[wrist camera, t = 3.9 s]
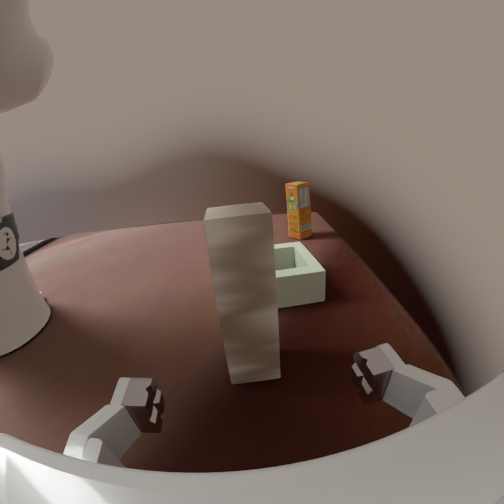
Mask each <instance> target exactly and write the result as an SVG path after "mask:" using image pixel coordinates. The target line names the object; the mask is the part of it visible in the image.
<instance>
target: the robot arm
mask: <svg viewBox="0 0 504 504" xmlns="http://www.w3.org/2000/svg"><path fill="white" fill-rule="evenodd" d="M28 3H29V0H0V113H3V112H7V111H10V110H12V109H15V108H17V107H20V106H22V105H24V104H26V103H29V102H31V101H34V100H36V98H37V97H38V96H39V95H40V94H41V92H42V91H43V90H44V88H45V86H46V84H47V83H48V81H49V78H50V75H51V72H52V67H53V53H52V49H51V47H50V45H49V43H48V41H46V39H45V38H43V37H42V36H41V35H40V34H39V33H38V32H37V30H36V29H35V27H34V26H33V24H32V21H31V18H30V15H29V7H28ZM9 213H10V207H9V201H8V195H7V188H6V180H5V170H4V162H3V159H2V156H1V154H0V356H1V355H4V354H6V353H9V352H11V351H13V350H15V349H17V348H18V347H20V346H22V345H23V344H25V343H26V342H27V341H29V340H30V339H31V338H32V337H34V336H35V335H36V334H37V333H38V332H39V331H40V330H41V329H42V328H43V327H44V325H45V324H46V322H47V321H48V319H49V317H50V312H51V311H50V308H49V306H48V305H47V303H46V302H45V300H44V296H43V294H42V292H41V291H39V290H38V288H37V286H36V283H35V281H34V279H33V277H32V274H31V272H30V270H29V267H28V265H27V262H26V260H25V257H24V255H23V253H22V251H21V250H20V248H19V243H18V239H19V235H18V231H17V224H16V222H15V218H14V214H13V213H10V214H9ZM353 359H354V361H355V363H354V365H353V366H352V369H351V378H352V381H353V383H354V385H355V387H357V388H359V389H360V392H359V395H360V397H361V398H362V400H363V402H364V404H369V403H372V402H375V401H378V400H382V399H383V401H385V402H386V403H388V404H389V405H391V406H393V407H394V408H396V409H398V410H399V411H401V412H402V413H404V414H406V415H407V416H409V417H411V418H412V419H413V420H412V422H411V423H410V425H409V427H408V428H406V429H404V430H402V431H399V432H397V433H395V434H392V435H390V436H387V437H384V438H382V439H379V440H377V441H374V442H371V443H368V444H365V445H362V446H359V447H356V448H353V449H350V450H347V451H343V452H340V453H336V454H333V455H329V456H325V457H321V458H317V459H312V460H308V461H303V462H298V463H293V464H288V465H282V466H276V467H269V468H262V469H254V470H244V471H232V472H213V473H179V472H160V471H148V470H138V469H130V468H126V467H125V466H124V465H123V464H122V463H121V462H120V461H119V459H120V458H121V457H122V456H123V455H124V453H125V452H126V451H127V450H128V449H129V448H130V447H131V445H132V444H133V443H134V442H135V441H136V440H137V438H138V437H139V436H140V435H141V434H142V433H141V432H148V433H161V427H162V419H161V417H160V415H161V414H162V413H164V398H163V395H162V392H161V391H160V390H158V389H157V387H158V383H157V381H156V379H154V378H127V377H121V378H120V379H119V380H118V383H117V386H116V388H115V391H114V394H113V397H112V400H111V402H110V405H106V406H104V407H103V408H102V409H100V410H99V411H98V412H97V413H95V414H94V415H93V416H92V417H90V418H89V419H88V420H86V421H85V422H84V423H83V424H81V425H80V426H79V427H77V428H76V429H75V430H74V431H72V432H71V433H70V436H69V439H68V441H67V444H66V447H65V450H64V452H63V454H60V453H56V452H53V451H50V450H47V449H44V448H41V447H38V446H35V445H32V444H30V443H27V442H25V441H22V440H20V439H17V438H15V437H13V436H10V435H8V434H5V433H0V504H504V371H503V372H502V373H500V374H499V375H498V376H497V377H495V378H494V379H492V380H491V381H490V382H488V383H487V384H485V385H484V386H482V387H481V388H479V389H478V390H476V391H475V392H473V393H472V394H470V395H469V396H467V397H464V395H463V394H462V393H461V392H460V391H459V389H458V388H457V387H456V386H455V385H454V383H453V382H452V381H451V380H448V379H446V378H443V377H440V376H438V375H435V374H432V373H430V372H427V371H425V370H422V369H419V368H417V367H414V366H412V365H409V364H408V365H405V363H404V362H403V361H402V360H401V358H400V357H399V356H398V355H397V353H396V352H395V351H394V350H393V348H392V347H391V346H390V345H389V344H388V343H385V344H382V345H378V346H375V347H371V348H368V349H364V350H360V351H357V352H355V354H354V358H353Z"/></svg>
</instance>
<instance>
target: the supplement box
mask: <svg viewBox="0 0 504 504" xmlns="http://www.w3.org/2000/svg"><path fill="white" fill-rule="evenodd" d="M285 185H286V199H287V212H288V228H289V237H291V238H295V239H298V240H303V239H305V238H308V237H310V236H312V230H311V210H310V195H309V183H308V182H292V183H288V184H285Z"/></svg>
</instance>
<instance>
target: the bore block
mask: <svg viewBox="0 0 504 504" xmlns="http://www.w3.org/2000/svg"><path fill="white" fill-rule="evenodd" d="M274 255H275V271H276V288H277V306H278V308H283V307H290V306H297V305H303V304H309V303H315V302H321V301H325V280H326V271H325V269H324V268H323V267H322V266H321V265H320V264H319V263H318V261H317V260H316V259H315V258H314V257H313V256H312V255H311V254H310V252H309V251H308V250H307V249H306V248H305V247H304V246H303V245H302V244H301V242H292V243H283V244H275V245H274Z"/></svg>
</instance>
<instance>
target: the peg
mask: <svg viewBox="0 0 504 504" xmlns="http://www.w3.org/2000/svg"><path fill="white" fill-rule="evenodd" d="M204 227H205V234H206V241H207V248H208V255H209V262H210V268H211V274H212V281H213V287H214V293H215V299H216V305H217V311H218V316H219V322H220V327H221V333H222V338H223V344H224V349H225V354H226V359H227V364H228V369H229V374H230V379H231V384H240V383H248V382H256V381H263V380H270V379H276V378H281V373H280V348H279V326H278V306H277V288H276V271H275V255H274V239H273V225H272V212H271V211H270V210H269V209H268V208H267V207H266V206H265V205H264V204H263V203H262V202H258V203H249V204H240V205H231V206H222V207H213V208H207V211H206V214H205V217H204Z"/></svg>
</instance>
